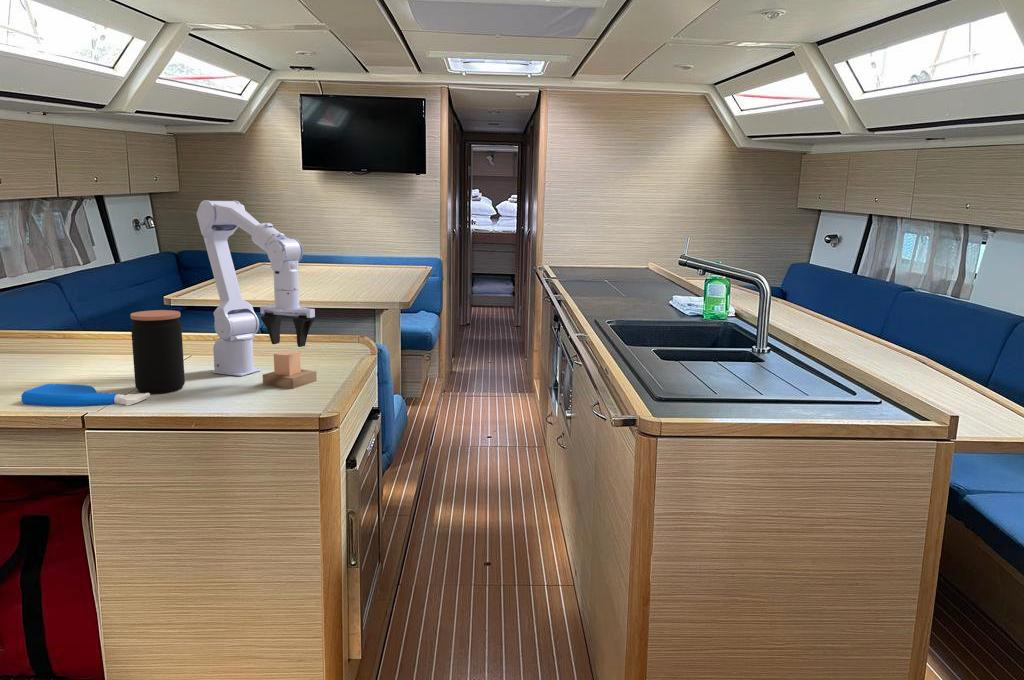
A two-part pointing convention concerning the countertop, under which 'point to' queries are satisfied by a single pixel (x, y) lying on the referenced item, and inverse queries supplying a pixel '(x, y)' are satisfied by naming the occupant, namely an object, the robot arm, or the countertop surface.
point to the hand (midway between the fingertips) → (288, 345)
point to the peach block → (287, 363)
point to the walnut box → (289, 379)
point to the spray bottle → (76, 396)
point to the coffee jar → (157, 351)
